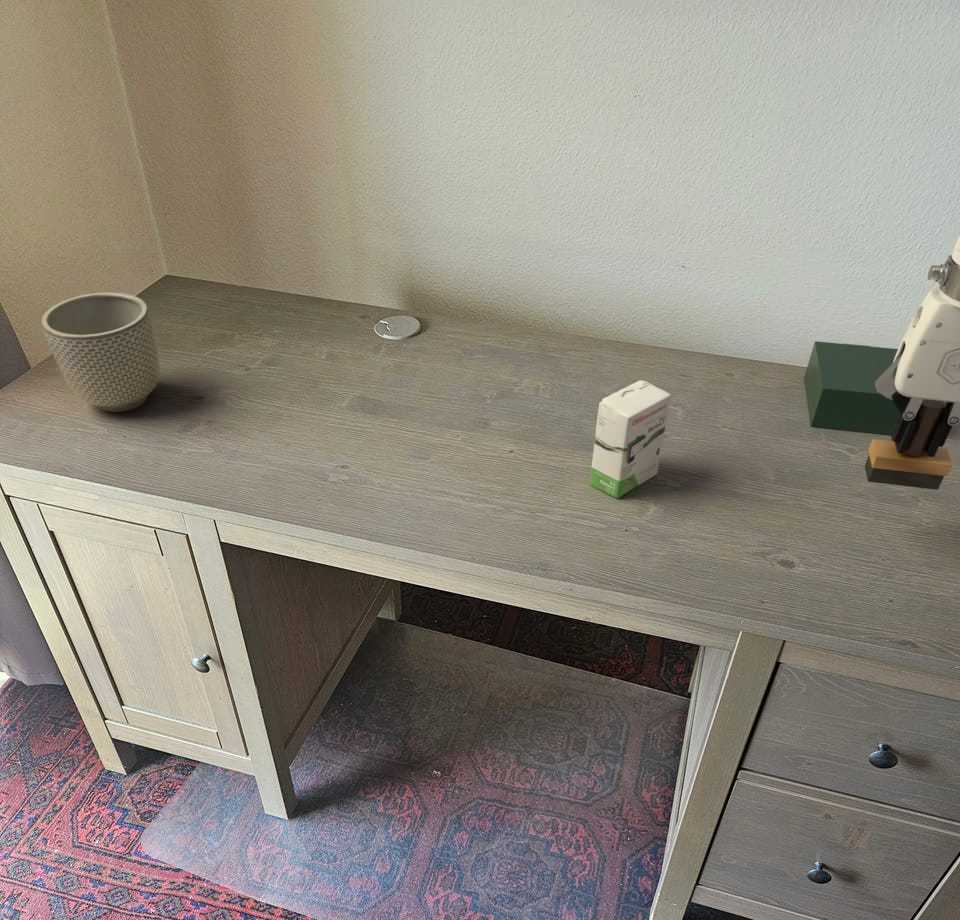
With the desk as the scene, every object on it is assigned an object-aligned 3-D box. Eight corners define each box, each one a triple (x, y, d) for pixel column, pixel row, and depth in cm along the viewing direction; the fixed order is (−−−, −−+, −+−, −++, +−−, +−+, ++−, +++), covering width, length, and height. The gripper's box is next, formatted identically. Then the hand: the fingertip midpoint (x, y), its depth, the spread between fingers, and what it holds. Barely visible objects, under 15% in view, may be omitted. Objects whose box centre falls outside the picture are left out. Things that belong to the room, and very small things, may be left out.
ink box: (616, 500, 109) (629, 417, 100) (587, 483, 111) (596, 401, 103) (659, 473, 113) (674, 392, 104) (629, 458, 115) (642, 377, 107)
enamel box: (901, 388, 129) (916, 350, 125) (916, 438, 119) (933, 399, 115) (803, 378, 131) (814, 340, 127) (810, 426, 121) (822, 388, 117)
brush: (934, 473, 99) (969, 398, 92) (940, 491, 96) (976, 416, 89) (862, 465, 100) (891, 390, 93) (866, 482, 97) (895, 407, 90)
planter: (128, 367, 132) (103, 283, 122) (191, 394, 126) (170, 308, 117) (51, 406, 124) (17, 318, 114) (115, 436, 118) (85, 347, 109)
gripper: (903, 291, 80) (841, 458, 94) (1087, 307, 78) (997, 476, 91) (891, 259, 86) (835, 422, 99) (1064, 274, 84) (982, 438, 97)
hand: (913, 447), depth 95 cm, fingers closed on brush, 2 cm apart
